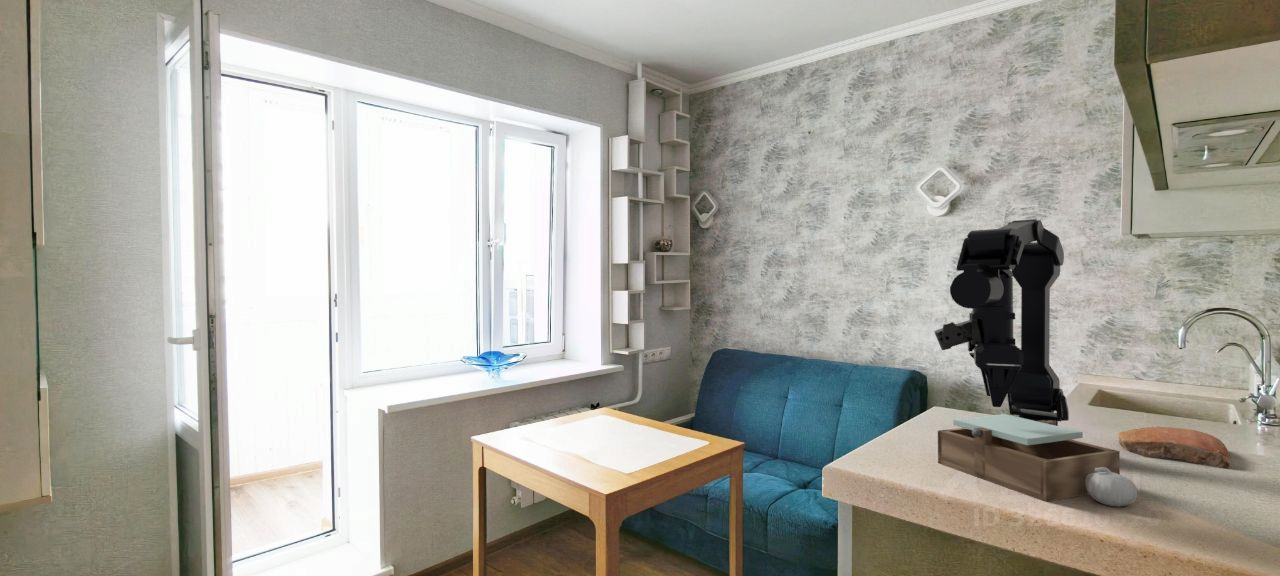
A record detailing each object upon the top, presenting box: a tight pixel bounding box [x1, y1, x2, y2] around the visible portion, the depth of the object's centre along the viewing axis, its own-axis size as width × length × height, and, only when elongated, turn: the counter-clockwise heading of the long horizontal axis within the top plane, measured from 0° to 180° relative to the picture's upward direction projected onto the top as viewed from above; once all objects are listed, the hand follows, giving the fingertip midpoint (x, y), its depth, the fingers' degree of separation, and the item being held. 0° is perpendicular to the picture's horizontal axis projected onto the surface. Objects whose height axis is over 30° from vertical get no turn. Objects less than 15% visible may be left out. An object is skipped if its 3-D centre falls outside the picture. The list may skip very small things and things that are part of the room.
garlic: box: [1085, 467, 1138, 507], centre depth 86 cm, size 6×5×5 cm
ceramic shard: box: [1117, 426, 1232, 469], centre depth 110 cm, size 15×6×15 cm
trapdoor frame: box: [937, 420, 1121, 502], centre depth 99 cm, size 18×20×8 cm
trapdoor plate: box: [952, 413, 1083, 445], centre depth 100 cm, size 12×14×1 cm
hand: (993, 401), depth 97 cm, fingers open, 9 cm apart
